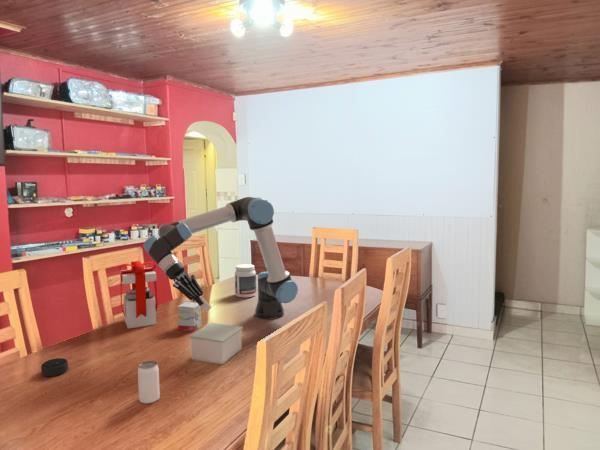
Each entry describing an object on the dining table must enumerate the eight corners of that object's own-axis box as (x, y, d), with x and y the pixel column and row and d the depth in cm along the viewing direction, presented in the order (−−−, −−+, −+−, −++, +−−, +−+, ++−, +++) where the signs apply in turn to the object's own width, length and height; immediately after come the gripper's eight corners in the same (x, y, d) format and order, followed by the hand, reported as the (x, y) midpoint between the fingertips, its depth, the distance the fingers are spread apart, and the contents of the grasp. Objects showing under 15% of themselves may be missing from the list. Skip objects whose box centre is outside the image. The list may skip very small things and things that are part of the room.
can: (142, 394, 151) (140, 360, 149) (161, 394, 151) (160, 359, 150) (136, 404, 144) (135, 369, 143) (157, 403, 145) (155, 368, 144)
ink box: (194, 331, 211) (193, 307, 209) (177, 330, 213) (176, 306, 211) (201, 325, 219) (201, 302, 218) (185, 324, 221) (184, 301, 220)
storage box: (191, 359, 179) (191, 338, 178) (212, 345, 194) (211, 325, 193) (222, 364, 174) (222, 342, 173) (241, 349, 189) (241, 328, 188)
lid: (189, 337, 178) (189, 335, 177) (211, 324, 193) (211, 322, 193) (222, 342, 173) (222, 340, 173) (242, 328, 188) (242, 327, 188)
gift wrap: (124, 330, 213) (120, 268, 209) (120, 320, 228) (117, 262, 224) (160, 324, 220) (158, 264, 217) (154, 315, 236) (152, 259, 232)
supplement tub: (260, 294, 275) (260, 265, 273) (247, 299, 264) (246, 268, 262) (244, 291, 282) (243, 262, 280) (230, 296, 271) (230, 266, 269)
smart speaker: (50, 379, 162) (49, 369, 162) (36, 374, 167) (35, 363, 167) (73, 370, 170) (72, 360, 169) (60, 365, 174) (59, 355, 174)
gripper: (176, 269, 194) (211, 310, 190) (157, 276, 181) (194, 320, 178) (186, 258, 191) (222, 299, 188) (167, 264, 179) (205, 308, 175)
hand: (208, 309), depth 183 cm, fingers closed
